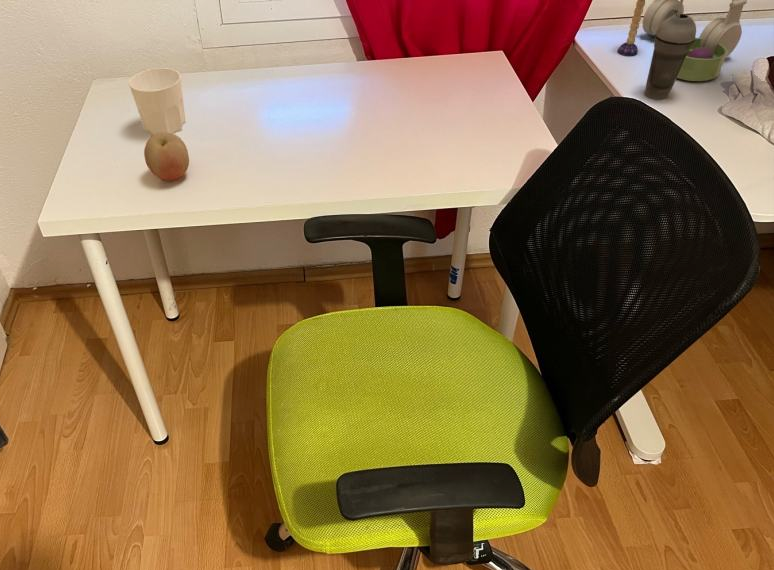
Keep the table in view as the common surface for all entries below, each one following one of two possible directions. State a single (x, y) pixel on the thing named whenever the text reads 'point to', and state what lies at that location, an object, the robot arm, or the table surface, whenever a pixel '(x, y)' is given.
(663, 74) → the beverage cup
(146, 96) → the cup
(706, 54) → the ball
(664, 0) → the headphones
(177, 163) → the fruit
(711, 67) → the bowl
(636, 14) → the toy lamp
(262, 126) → the table surface
